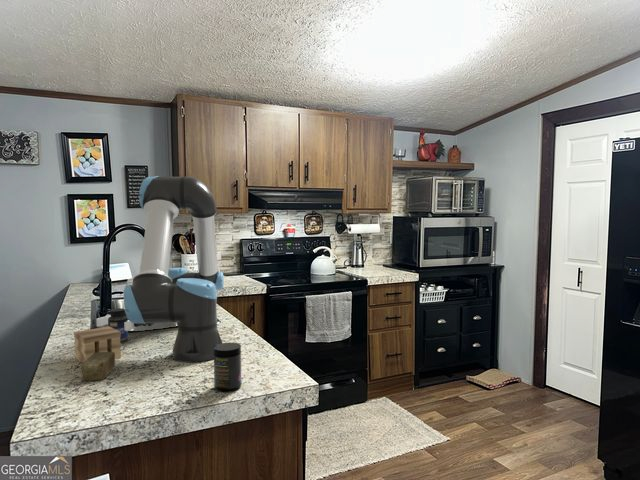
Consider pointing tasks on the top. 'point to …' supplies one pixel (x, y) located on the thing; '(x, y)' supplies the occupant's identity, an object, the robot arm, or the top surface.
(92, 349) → the block
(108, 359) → the stone block
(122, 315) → the pill bottle
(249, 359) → the top surface
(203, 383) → the top surface
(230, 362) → the supplement container
